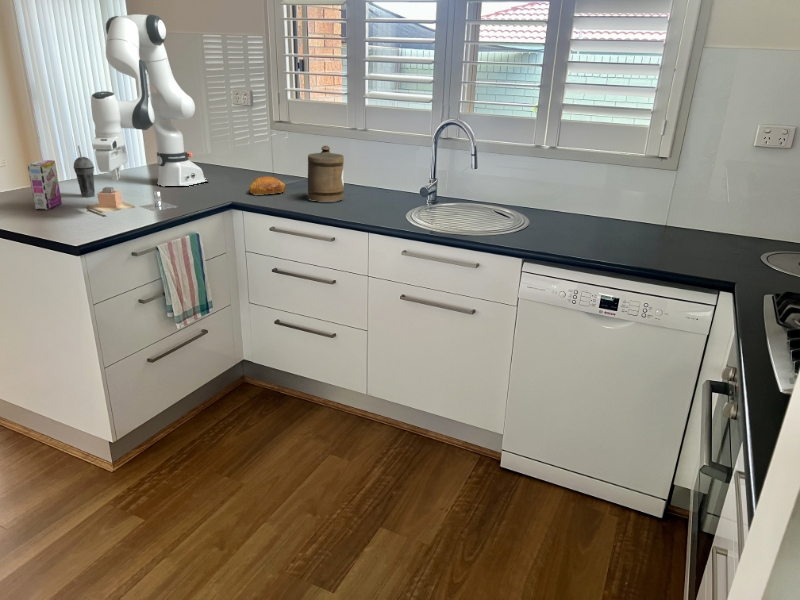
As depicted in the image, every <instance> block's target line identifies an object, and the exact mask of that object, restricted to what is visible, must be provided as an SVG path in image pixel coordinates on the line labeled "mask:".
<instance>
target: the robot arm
mask: <svg viewBox="0 0 800 600" xmlns="http://www.w3.org/2000/svg"><path fill="white" fill-rule="evenodd" d="M105 33H106V42H105V57H106V60H107V62H108V63H109V65H110V66H111V67H112V68H113V69H115V70H116V71H117V72H120V73H121V74H123V75H127V76H129V77H131V78H133V79H135V85H136V94H137V98H136V99H135V100H121V99H117V97H116V94H115V92H112V91H105V90H103V91H97V92H94V93H92V95H91V96H90V107H91V116H92V120H93V124H94V128H95V129H94V134H95V136H94V139H93V142H92V149H93V150H95V152H94V153H95V160H96V164H97V168H98V170H99V172H100V173H109V174H110V175H111V179H112V181H114V182H115V181H116V182H117V181H119V180H121V175H120V174H121V166H122V165H125V164H127V163H128V161H129V160H128V153H127V147H126V144H125V138H124V133H123V132H124V131H123V129H133V130H134V129H136V130H141V131H142V130H143V131H147V130H149V129H150V128H152V129H153V132H154V136H155V141H156V150H157V151H156V159H157V165H158V177H157V178H158V180H157V184H158V186H159V185H161V187H165V186H189V185H193V184H197V183H201V182H205V181H207V180H205V179H206V178H207V177H205V176H204V171H203V169H202V168H201V167H200V166H198V165H197V164H196V163H194V162H192V161H191V160H190V159H189V158H193V152H186V151H185V145H184V135H183V132H182V131H180V129H178V128H177V127H175V125H174V124H173V122H172V120H173V121H174V120H175V121H184V120H190V119H191V118H192V117H193V116H194V114H195V112H196V105H195V104H196V103H195V101H194V99H193V98H192V97H191V96H190V95H188V94H187V93H186V92H185V91H184V90H183V89H182V88H181V86H180V85H179V84H178V82H177V81H176V79H175V76H174V74H173V71H172V69H171V65H170V61H169V57H168V54H167V50H166V47H165V44H164V42H165V41H166V39H167V28H166V24H165V22H164V20H163V19H162V18H161V17H160V16H159V15H155V14H138V13H137V14H136V13H135V14H134V13H133V14H128V15H127V14H126V15H121V16H118V15H115V16H112V17H109V18H108V20H107V21H106V23H105ZM151 86H152V87H153V88H154V89H155V90H156V91H151ZM157 184H156V185H157ZM189 187H190V186H189Z"/></svg>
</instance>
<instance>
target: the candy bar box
mask: <svg viewBox="0 0 800 600" xmlns="http://www.w3.org/2000/svg"><path fill="white" fill-rule="evenodd" d="M27 169H28V174H29V181H30V186H31V192H32V197H33V202H34V204H33V205H34V208H35V209H34V210H36V209H42V210H41V211H49V210H51V209H53V208H56V207H57V206H60V205H61V204H62V203H63V202H62V196H61V191H60V185H59V179H58V172H57V166H56V161H55V160H52V159H51V160H49V159H48V160H47V159H44V160H43V159H42V160H41V159H40V160H39V161H35V162H32V163H29V164H27Z"/></svg>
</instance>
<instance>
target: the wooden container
mask: <svg viewBox="0 0 800 600" xmlns="http://www.w3.org/2000/svg"><path fill="white" fill-rule="evenodd" d="M330 150H331V148H330V147H329V146H328V145H323V146H321V152H316V153H315V152H314V153H309V154H308V155H307V199H308V198H309V199H311V200H316V201H335V200H339V199H342V198H343V199H344V189H345V188H344V185H345V184H344V183H345V182H344V179H345V178H344V162H345V161H344V159H345V158H344V155H343V154H340V153H335V152H334V153H331V151H330ZM309 199H308V200H309Z"/></svg>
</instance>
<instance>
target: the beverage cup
mask: <svg viewBox="0 0 800 600" xmlns="http://www.w3.org/2000/svg"><path fill="white" fill-rule="evenodd" d="M77 148H78V149H77V150H78V153H79V157H77V158H76V159H75V160H74V162H73V169H74V172H75V175H76V178H77V179H76V180H77V183H78V187H79V190H80V194H81V197H82V198H86V199H87V198H94V197H95V196H96V195H95V191H96V190H95V189H96V188H95V180H94V178H95V177H94V175H95V174H94V173H95V165H94V164H93V161H92V160H91V159H89V157H87V156H82V152H81V149H80V145H77Z"/></svg>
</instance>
